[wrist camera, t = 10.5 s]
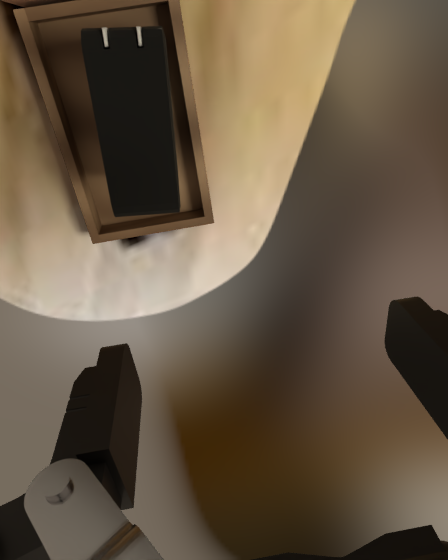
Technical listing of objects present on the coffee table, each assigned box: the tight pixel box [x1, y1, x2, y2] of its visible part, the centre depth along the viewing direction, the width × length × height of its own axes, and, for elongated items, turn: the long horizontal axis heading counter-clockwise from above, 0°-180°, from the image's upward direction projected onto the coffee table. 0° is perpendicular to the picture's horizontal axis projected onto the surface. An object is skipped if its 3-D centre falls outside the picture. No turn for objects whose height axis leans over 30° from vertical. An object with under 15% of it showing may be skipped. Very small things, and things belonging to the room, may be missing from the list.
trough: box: [13, 0, 214, 244], centre depth 30 cm, size 16×10×3 cm, turn 7°
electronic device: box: [81, 26, 181, 217], centre depth 26 cm, size 4×10×10 cm, turn 2°
